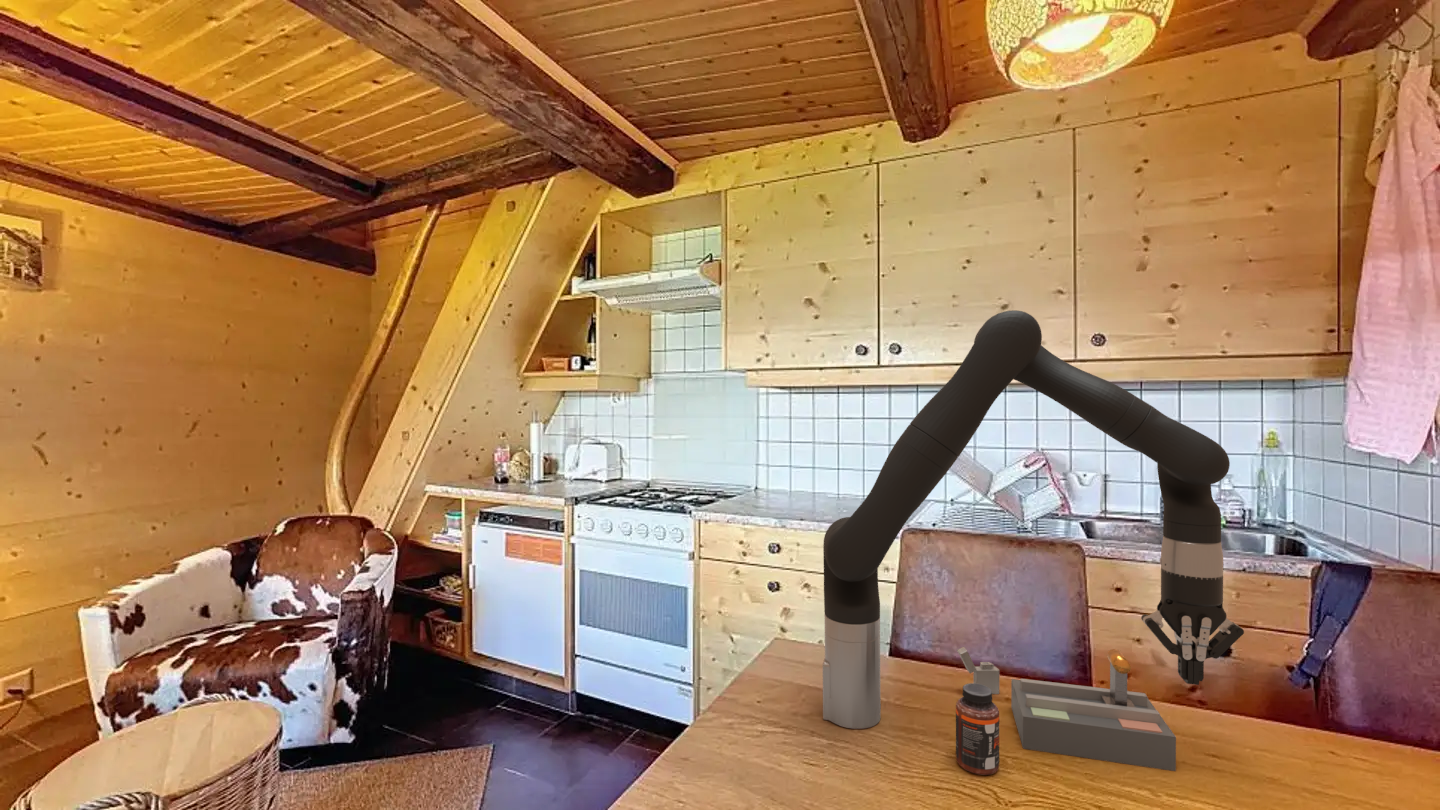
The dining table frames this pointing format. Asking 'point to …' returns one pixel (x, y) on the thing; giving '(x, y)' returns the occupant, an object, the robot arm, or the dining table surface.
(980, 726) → the supplement bottle
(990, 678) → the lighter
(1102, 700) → the breaker handle
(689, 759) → the dining table surface
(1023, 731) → the switch box
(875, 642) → the robot arm
